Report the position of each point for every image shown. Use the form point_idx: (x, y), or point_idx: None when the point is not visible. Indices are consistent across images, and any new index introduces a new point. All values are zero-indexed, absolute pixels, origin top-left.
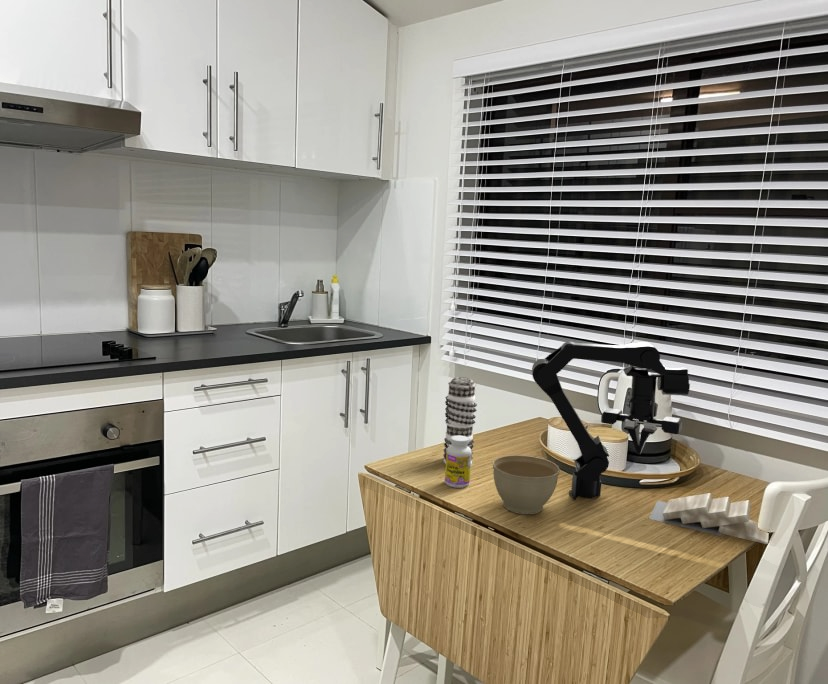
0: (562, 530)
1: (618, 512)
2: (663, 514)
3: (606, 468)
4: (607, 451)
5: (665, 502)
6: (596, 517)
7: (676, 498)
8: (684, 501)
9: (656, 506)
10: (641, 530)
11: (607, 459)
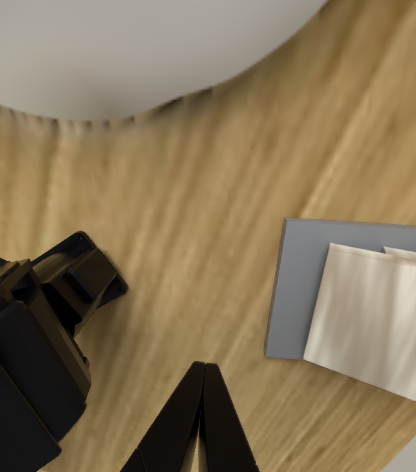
0: (108, 445)
1: (187, 325)
2: (305, 358)
3: (88, 382)
4: (21, 404)
5: (313, 224)
6: (147, 372)
7: (358, 255)
8: (384, 309)
9: (284, 271)
10: (251, 389)
11: (66, 434)
